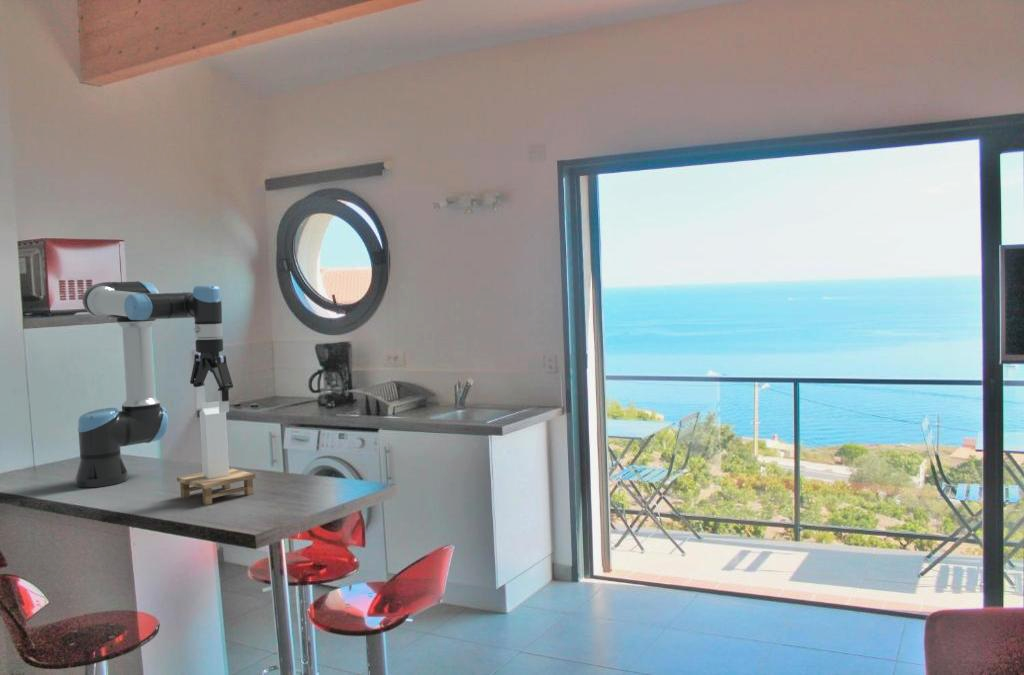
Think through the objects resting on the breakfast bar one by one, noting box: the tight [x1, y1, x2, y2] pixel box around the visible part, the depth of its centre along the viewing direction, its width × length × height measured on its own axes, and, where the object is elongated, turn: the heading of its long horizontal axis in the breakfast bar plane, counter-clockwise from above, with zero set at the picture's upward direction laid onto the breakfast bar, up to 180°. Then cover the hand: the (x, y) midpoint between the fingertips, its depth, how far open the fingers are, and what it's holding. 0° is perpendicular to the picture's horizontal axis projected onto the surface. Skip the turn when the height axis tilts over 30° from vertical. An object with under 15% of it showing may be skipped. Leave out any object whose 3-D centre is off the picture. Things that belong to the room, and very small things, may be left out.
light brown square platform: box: [176, 467, 256, 506], centre depth 235 cm, size 16×16×6 cm
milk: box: [199, 400, 230, 479], centre depth 234 cm, size 6×6×22 cm
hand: (212, 410), depth 234 cm, fingers open, 13 cm apart
